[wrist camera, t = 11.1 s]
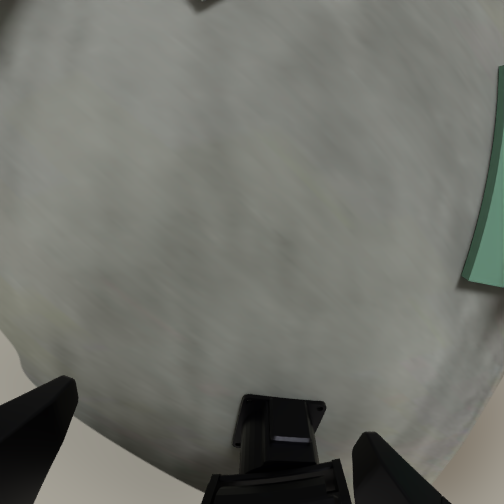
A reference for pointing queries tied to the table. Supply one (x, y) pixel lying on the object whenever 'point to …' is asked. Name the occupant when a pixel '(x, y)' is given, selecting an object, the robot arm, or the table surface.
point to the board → (491, 212)
